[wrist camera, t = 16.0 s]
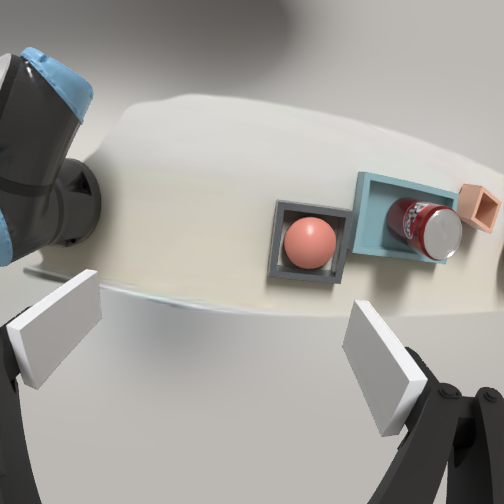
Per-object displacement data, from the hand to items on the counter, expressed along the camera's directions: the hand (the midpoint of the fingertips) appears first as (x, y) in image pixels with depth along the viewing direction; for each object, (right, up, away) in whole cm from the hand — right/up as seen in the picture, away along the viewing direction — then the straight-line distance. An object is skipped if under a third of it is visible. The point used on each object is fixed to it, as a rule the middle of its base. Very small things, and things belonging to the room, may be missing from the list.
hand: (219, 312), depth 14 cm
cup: (+40, +11, +29) cm, 51 cm away
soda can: (+26, +8, +30) cm, 40 cm away
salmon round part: (+10, +5, +31) cm, 33 cm away
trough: (+26, +8, +30) cm, 41 cm away
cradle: (+10, +5, +31) cm, 33 cm away
